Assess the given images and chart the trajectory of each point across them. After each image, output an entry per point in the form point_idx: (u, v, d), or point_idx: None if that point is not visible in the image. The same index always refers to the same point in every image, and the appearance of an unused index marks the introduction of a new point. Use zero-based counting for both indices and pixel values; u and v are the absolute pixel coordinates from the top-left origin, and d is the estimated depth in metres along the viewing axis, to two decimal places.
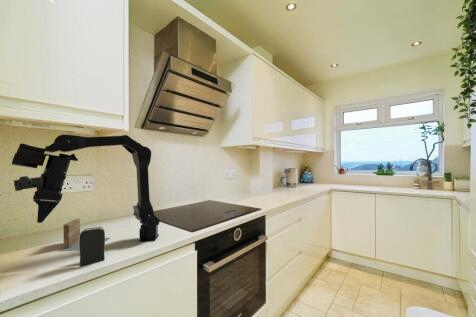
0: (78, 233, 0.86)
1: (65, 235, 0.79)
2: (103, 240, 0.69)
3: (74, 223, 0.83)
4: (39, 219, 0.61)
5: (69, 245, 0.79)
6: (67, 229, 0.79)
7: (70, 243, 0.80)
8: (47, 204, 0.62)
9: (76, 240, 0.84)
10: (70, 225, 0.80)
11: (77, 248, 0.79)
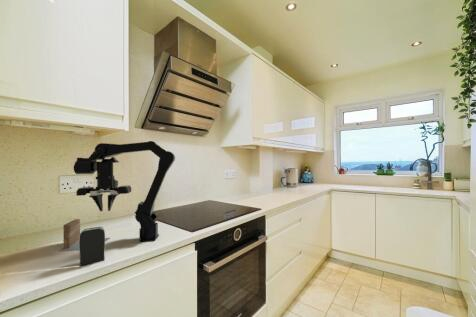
0: (78, 233, 0.86)
1: (65, 235, 0.79)
2: (103, 240, 0.69)
3: (74, 223, 0.83)
4: None
5: (69, 245, 0.79)
6: (67, 229, 0.79)
7: (70, 243, 0.80)
8: None
9: (76, 240, 0.84)
10: (70, 225, 0.80)
11: (77, 248, 0.79)
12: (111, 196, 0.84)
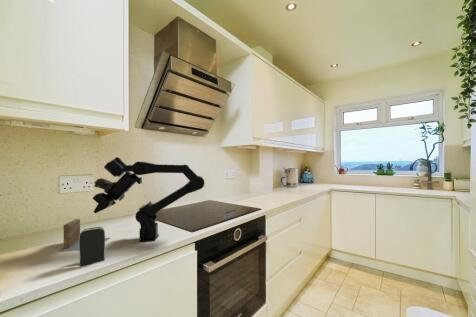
0: (78, 233, 0.86)
1: (65, 235, 0.79)
2: (103, 240, 0.69)
3: (74, 223, 0.83)
4: (95, 210, 0.84)
5: (69, 245, 0.79)
6: (67, 229, 0.79)
7: (70, 243, 0.80)
8: None
9: (76, 240, 0.84)
10: (70, 225, 0.80)
11: (77, 248, 0.79)
12: (113, 204, 0.88)
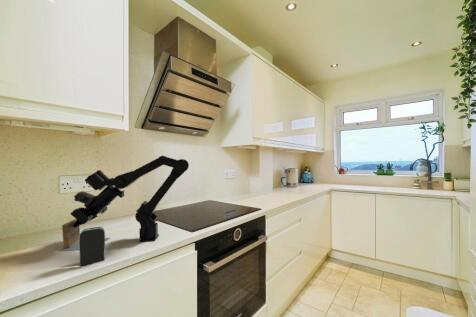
0: (78, 233, 0.86)
1: (64, 235, 0.79)
2: (103, 240, 0.69)
3: (73, 223, 0.83)
4: (75, 224, 0.83)
5: (69, 245, 0.79)
6: (66, 229, 0.79)
7: (70, 243, 0.80)
8: None
9: (76, 240, 0.84)
10: (69, 225, 0.80)
11: (77, 248, 0.79)
12: (95, 217, 0.86)
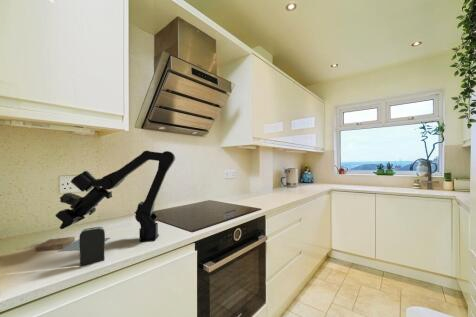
0: (63, 238, 0.84)
1: (47, 248, 0.78)
2: (103, 240, 0.69)
3: (44, 243, 0.81)
4: (61, 226, 0.82)
5: (60, 243, 0.79)
6: (40, 247, 0.77)
7: (60, 243, 0.79)
8: None
9: (68, 239, 0.84)
10: (38, 245, 0.78)
11: (77, 248, 0.79)
12: None
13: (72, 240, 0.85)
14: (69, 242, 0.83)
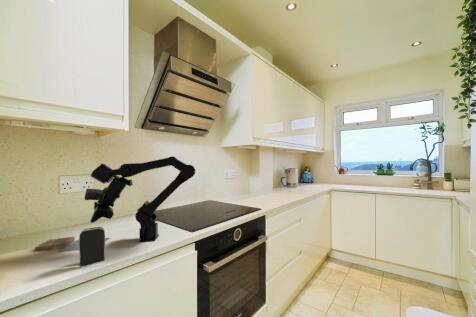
0: (63, 238, 0.84)
1: (47, 248, 0.78)
2: (103, 240, 0.69)
3: (44, 243, 0.81)
4: (92, 220, 0.84)
5: (60, 243, 0.79)
6: (40, 247, 0.77)
7: (60, 243, 0.79)
8: None
9: (68, 239, 0.84)
10: (38, 245, 0.78)
11: (77, 248, 0.79)
12: None
13: (72, 240, 0.85)
14: (69, 242, 0.83)
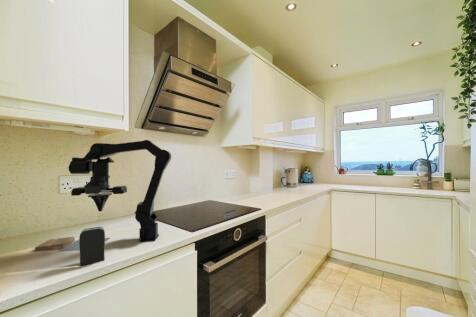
0: (63, 238, 0.84)
1: (47, 248, 0.78)
2: (103, 240, 0.69)
3: (44, 243, 0.81)
4: (102, 209, 0.85)
5: (60, 243, 0.79)
6: (40, 247, 0.77)
7: (60, 243, 0.79)
8: (104, 197, 0.86)
9: (68, 239, 0.84)
10: (38, 245, 0.78)
11: (77, 248, 0.79)
12: None
13: (72, 240, 0.85)
14: (69, 242, 0.83)
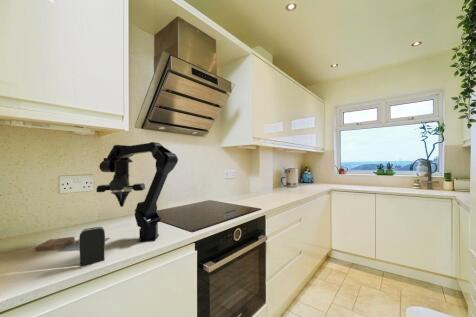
0: (63, 238, 0.84)
1: (47, 248, 0.78)
2: (103, 240, 0.69)
3: (44, 243, 0.81)
4: (123, 204, 0.94)
5: (60, 243, 0.79)
6: (40, 247, 0.77)
7: (60, 243, 0.79)
8: (125, 194, 0.95)
9: (68, 239, 0.84)
10: (38, 245, 0.78)
11: (77, 248, 0.79)
12: None
13: (72, 240, 0.85)
14: (69, 242, 0.83)
